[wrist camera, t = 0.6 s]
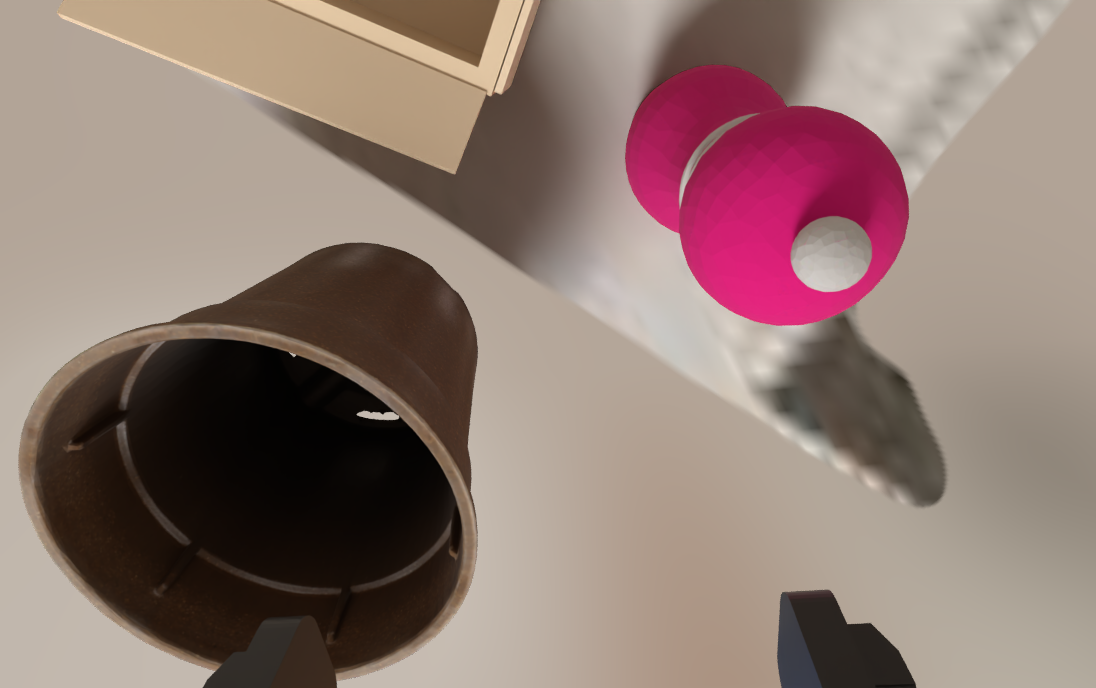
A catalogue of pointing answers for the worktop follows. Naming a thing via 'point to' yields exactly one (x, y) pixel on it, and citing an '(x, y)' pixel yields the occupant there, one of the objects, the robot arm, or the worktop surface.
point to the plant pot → (270, 464)
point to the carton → (341, 58)
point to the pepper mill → (767, 194)
